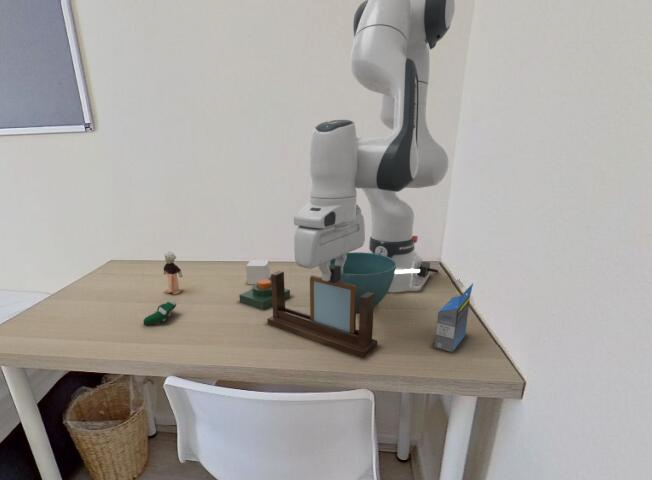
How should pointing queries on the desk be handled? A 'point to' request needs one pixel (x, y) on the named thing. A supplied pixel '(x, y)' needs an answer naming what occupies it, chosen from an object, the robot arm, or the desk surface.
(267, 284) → the latch button
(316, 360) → the desk surface
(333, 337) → the window frame
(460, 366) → the desk surface
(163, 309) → the green shoe
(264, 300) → the green push button base
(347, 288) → the window pane
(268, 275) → the white cube
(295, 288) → the desk surface
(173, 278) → the grandmother figurine
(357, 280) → the teal bowl
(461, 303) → the blue cardboard box
